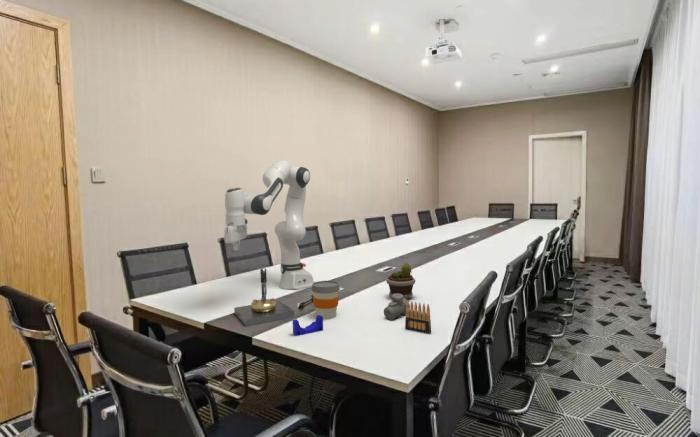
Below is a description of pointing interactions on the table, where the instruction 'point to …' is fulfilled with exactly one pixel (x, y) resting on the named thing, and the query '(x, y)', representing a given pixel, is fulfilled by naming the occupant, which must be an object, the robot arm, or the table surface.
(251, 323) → the cap plate
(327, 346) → the table surface
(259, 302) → the brass base with rod
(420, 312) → the ammunition clip
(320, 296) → the reusable coffee cup
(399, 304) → the pipe fitting
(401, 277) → the flowerpot
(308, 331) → the blue cradle stand
